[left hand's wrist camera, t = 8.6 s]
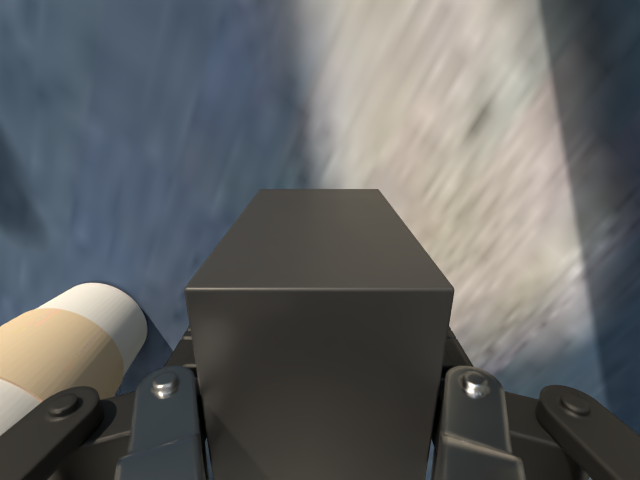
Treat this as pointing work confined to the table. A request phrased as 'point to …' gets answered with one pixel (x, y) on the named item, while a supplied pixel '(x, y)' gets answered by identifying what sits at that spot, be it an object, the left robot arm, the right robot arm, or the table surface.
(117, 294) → the coffee cup
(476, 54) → the table surface
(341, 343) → the bar
